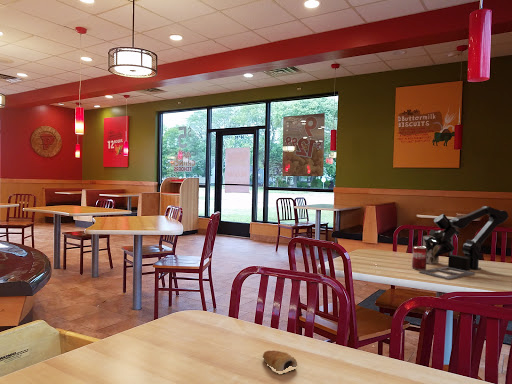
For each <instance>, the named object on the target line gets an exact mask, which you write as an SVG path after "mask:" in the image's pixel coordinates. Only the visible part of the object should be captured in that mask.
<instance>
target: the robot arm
mask: <svg viewBox="0 0 512 384" xmlns="http://www.w3.org/2000/svg"><path fill="white" fill-rule="evenodd" d="M486 215H487V216H489V217H488V221H487V222H486V223H485V224H484V226H482V228H481V230H480V231H479V232H478V233H477V234H476V235H475V236H474V238H473V239H466V241H465V243H463V244H462V245H463V246H462V248H461V249H462V250H461V251H462V253H463V254H464V255H463V256H464V257H468V258H471V261H470V270H474V271H476V270H477V271H478V270H481V269H482V267H479V265H480V263H479V261H480V260H482V259H483V256H484V255H483V254H482V253H481V252H480V251H481V248H482V244H483V243H484V242H485V240H486V239H488V237H489V236H490V235H491V233H492V232H494V230H495V228H497V227H498V226H499V225H501V224H503V223H504V222H506V221H507V220H508V219H509V214H508V211H506V210H503V209H502V210H501V209H497V208H493V207H491V206H485V205H484V206H482V207H481V208H478V209H476V210H473V211H472V212H471V211H470V213H467V214H465V215H459V216H455V217H453V218H451V219H449V218H448V217H447V216H446V214H444V213H442V214H441V215H438V216H436V217H435V218H434V219H433V222H434V224H435V225H436V226H437V227H438V228H439V229H440V230H435V229H430V231H429V233H428V235H431V236H433V237H434V239H435V241H434V240H433V239H432V238H431V237H425V238H424V240H425V242H426V245H425V247H426V248H427V252H428V251H430V250H431V249H433V247H434V246H435V245H439V250H438V251H437V252H436V254H435V255H434V256H435V257H437V256H439V257H440V256H442V255H444V254H448V253H452V252H454V251H455V246H454V245H453V243H451V242H452V238H453V237H454V235H457V236H458V235H461V234H460V229H464V228H466V227H467V226H468V225H469V224H470V223H472V222H473V221H476V220H479V219H480V218H482V217H484V216H486Z"/></svg>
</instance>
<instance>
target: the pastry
mask: <svg viewBox="0 0 512 384" xmlns="http://www.w3.org/2000/svg"><path fill="white" fill-rule="evenodd" d="M262 358H264V359H263V361H264V362H266V363H267V364H268V365H269V366H271V367H273V368H274V369H276V371H283V370H285V369H286V368H288V367H289V366H292V367H296V366H297V367H298V362H297V360H296V358H295V357H294V356H292V355H291V354H289V353H288V352H286V351H285V352H284V351H279V350H267V351H264V353H263V355H262ZM266 363H265V364H266Z"/></svg>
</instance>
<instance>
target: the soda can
mask: <svg viewBox="0 0 512 384" xmlns="http://www.w3.org/2000/svg"><path fill="white" fill-rule="evenodd" d="M411 260H412V264H411V268H412V269H414V270H418V271H423V270H427V263H426V262H427V248H426V247H423V246H419V245H418V246H417V245H415V246H413V247H412V259H411Z"/></svg>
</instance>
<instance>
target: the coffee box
mask: <svg viewBox="0 0 512 384" xmlns="http://www.w3.org/2000/svg"><path fill="white" fill-rule="evenodd" d="M425 237H431V238H432V239H433V240H434V241H435V239H434V237H433V236H431V235H429V234H428V235H423V236H422V247H425V245H426V242H425V240H424V238H425ZM439 248H440V246H439V245H435V246H434V247H433V249H431V250H430V251H428V252H427V262H426V264H428V265H429V264H430V265H434V264H437V263H439V260H440V259H439V258H440V256H437V257H435V256H434V255H435V254H436V252H437V251H438V250H439Z"/></svg>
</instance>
